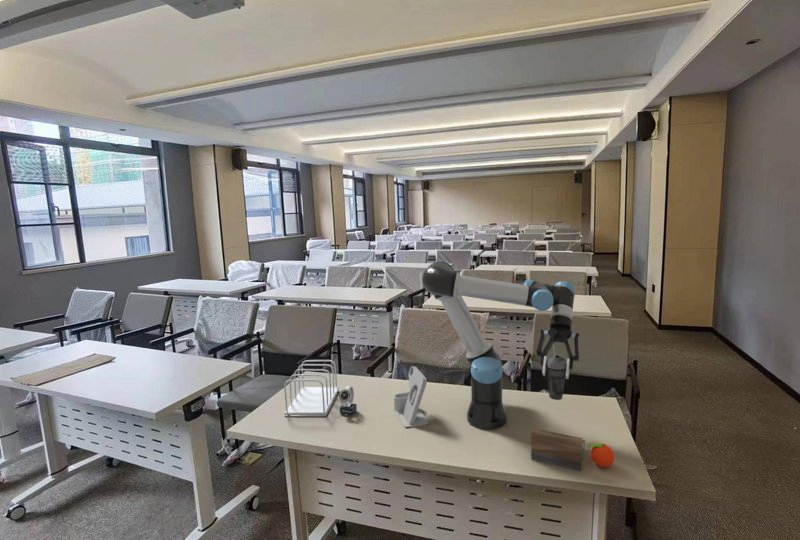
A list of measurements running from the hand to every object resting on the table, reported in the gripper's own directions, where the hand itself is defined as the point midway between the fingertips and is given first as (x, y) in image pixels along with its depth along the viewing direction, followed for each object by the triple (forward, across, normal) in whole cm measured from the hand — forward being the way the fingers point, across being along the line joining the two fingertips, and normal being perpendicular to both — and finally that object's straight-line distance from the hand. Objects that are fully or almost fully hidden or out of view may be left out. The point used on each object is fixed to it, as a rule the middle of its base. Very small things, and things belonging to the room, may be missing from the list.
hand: (555, 375), depth 150 cm
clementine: (+25, -15, -7) cm, 30 cm away
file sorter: (+25, +98, -8) cm, 101 cm away
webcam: (+26, +78, -6) cm, 83 cm away
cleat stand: (+23, -3, -9) cm, 25 cm away
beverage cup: (+4, 0, -9) cm, 10 cm away
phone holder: (+21, +54, -12) cm, 59 cm away
